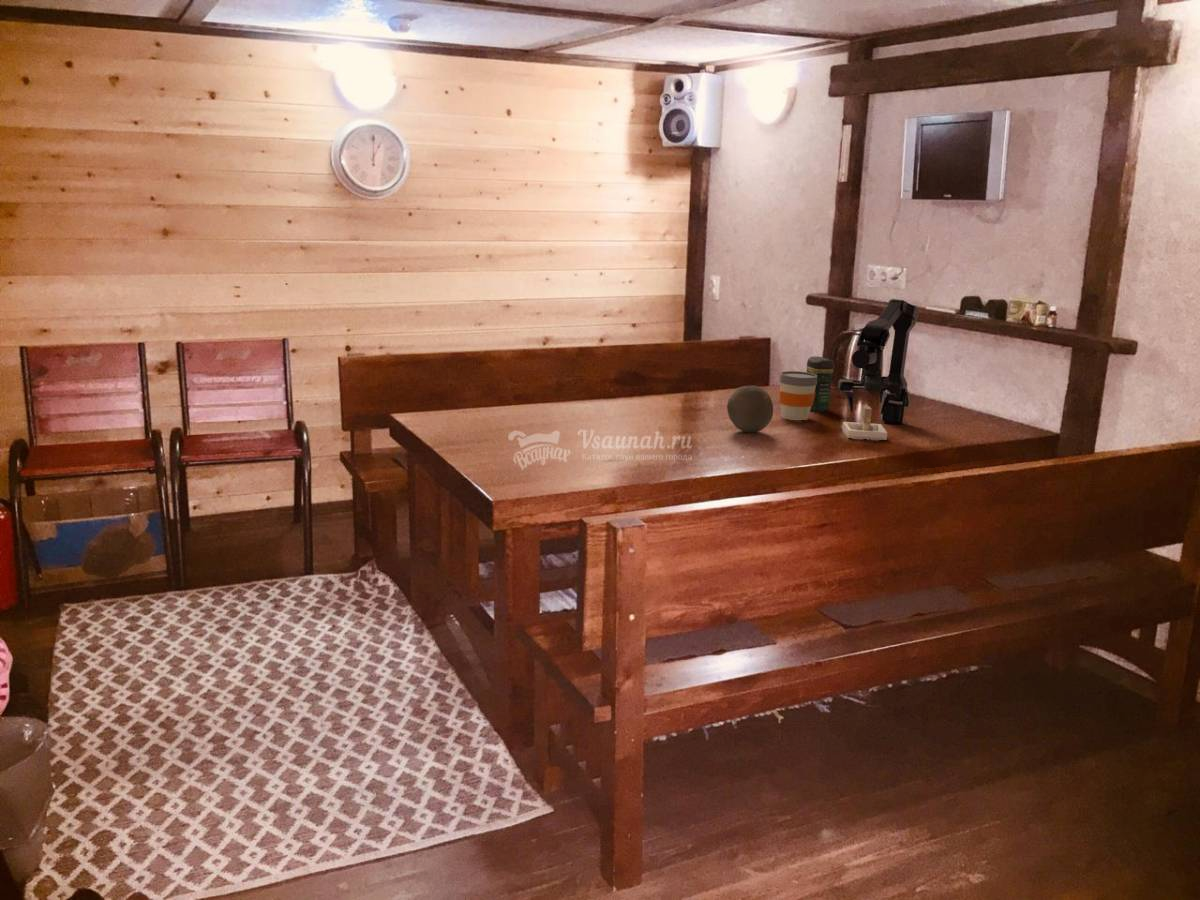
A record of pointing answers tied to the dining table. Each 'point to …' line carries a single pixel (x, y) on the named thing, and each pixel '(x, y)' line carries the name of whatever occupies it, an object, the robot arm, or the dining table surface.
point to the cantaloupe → (750, 408)
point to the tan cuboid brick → (865, 418)
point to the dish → (873, 434)
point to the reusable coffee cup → (796, 394)
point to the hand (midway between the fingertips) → (866, 413)
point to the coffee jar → (821, 381)
